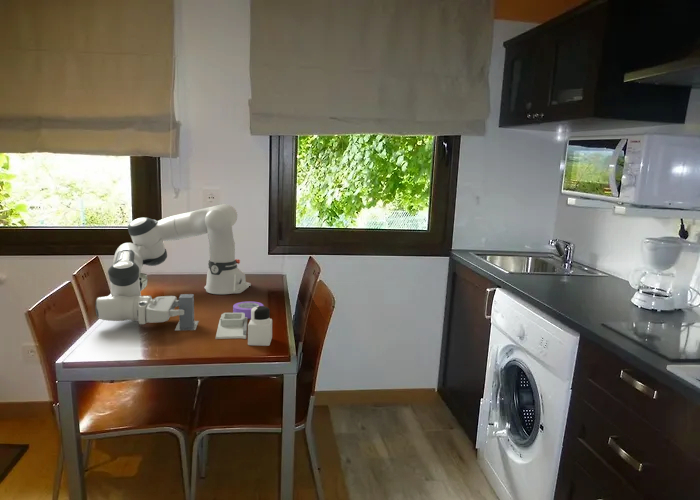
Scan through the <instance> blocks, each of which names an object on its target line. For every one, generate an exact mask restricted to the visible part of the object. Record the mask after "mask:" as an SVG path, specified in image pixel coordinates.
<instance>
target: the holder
mask: <svg viewBox="0 0 700 500" xmlns="http://www.w3.org/2000/svg"><path fill="white" fill-rule="evenodd" d="M247 333H248V319H247V317H245V313H233V312H223V313H221V315H220V318H219V321H218V325H217V330H216V334H215V340H221V339H222V340H223V339H225V340H226V339H243V340H246V339H247Z"/></svg>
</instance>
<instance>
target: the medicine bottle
mask: <svg viewBox="0 0 700 500" xmlns="http://www.w3.org/2000/svg"><path fill="white" fill-rule="evenodd" d="M270 313H271V311H270V308H269V307H267V306H265V305H263V306H256V307H254V308H252V309H251V319H249V322H248V323H247V345H248V346H256V347H257V346H258V347H259V346H263V347H268V346H270V345H271V342H272V339H273V319H272V318H270Z"/></svg>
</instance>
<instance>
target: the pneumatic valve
mask: <svg viewBox="0 0 700 500" xmlns="http://www.w3.org/2000/svg"><path fill="white" fill-rule="evenodd" d="M139 281H140V292H141V293H142V291H143V290H144V289H145V288H146V287H147V286H148V281H149V279H148V274H147V273H143V272H140V274H139Z"/></svg>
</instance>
